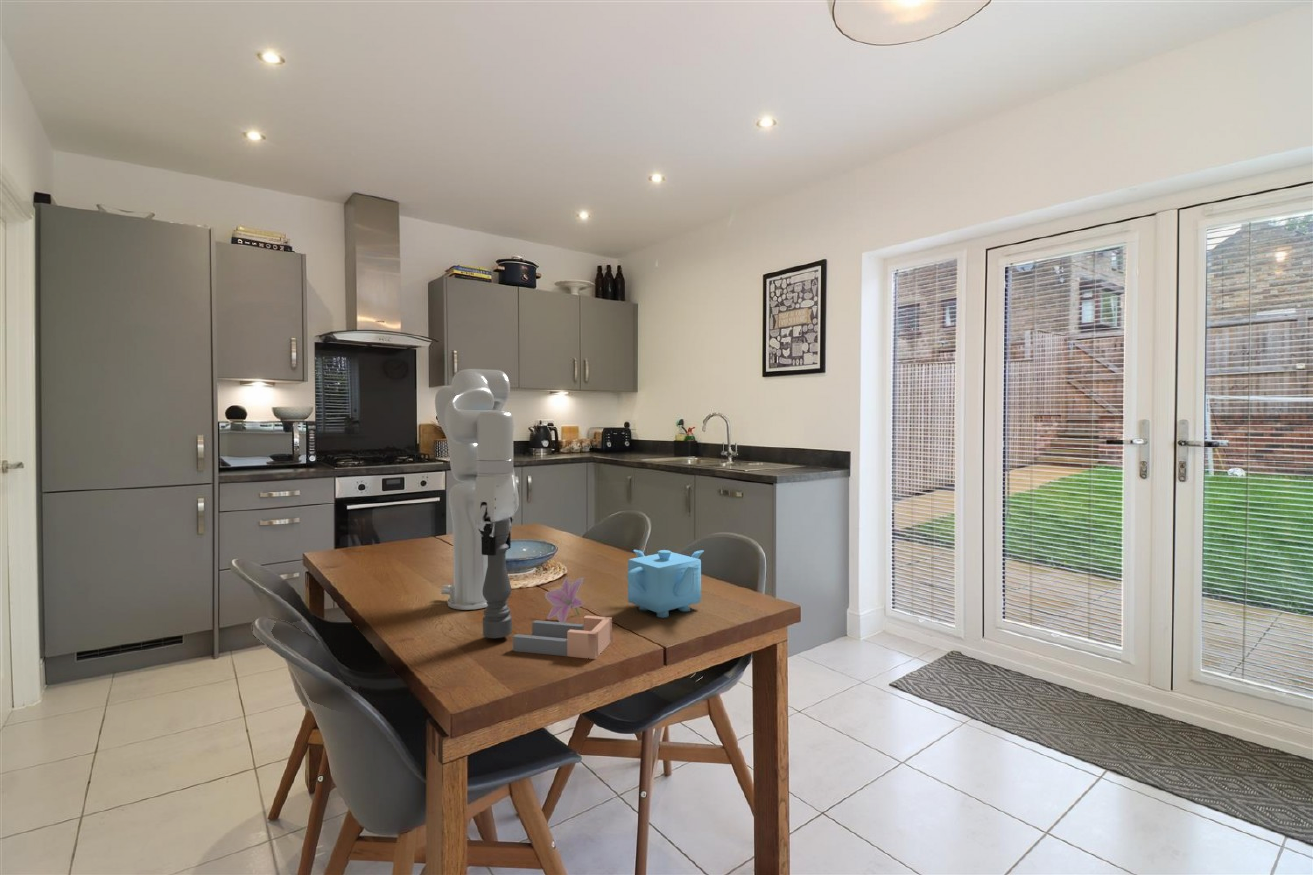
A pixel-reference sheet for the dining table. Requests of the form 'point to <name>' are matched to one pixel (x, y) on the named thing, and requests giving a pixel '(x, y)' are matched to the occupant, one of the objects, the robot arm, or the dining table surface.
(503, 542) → the candle holder
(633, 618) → the dining table surface
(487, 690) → the dining table surface
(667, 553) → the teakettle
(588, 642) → the guide channel
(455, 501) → the robot arm
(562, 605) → the lily
